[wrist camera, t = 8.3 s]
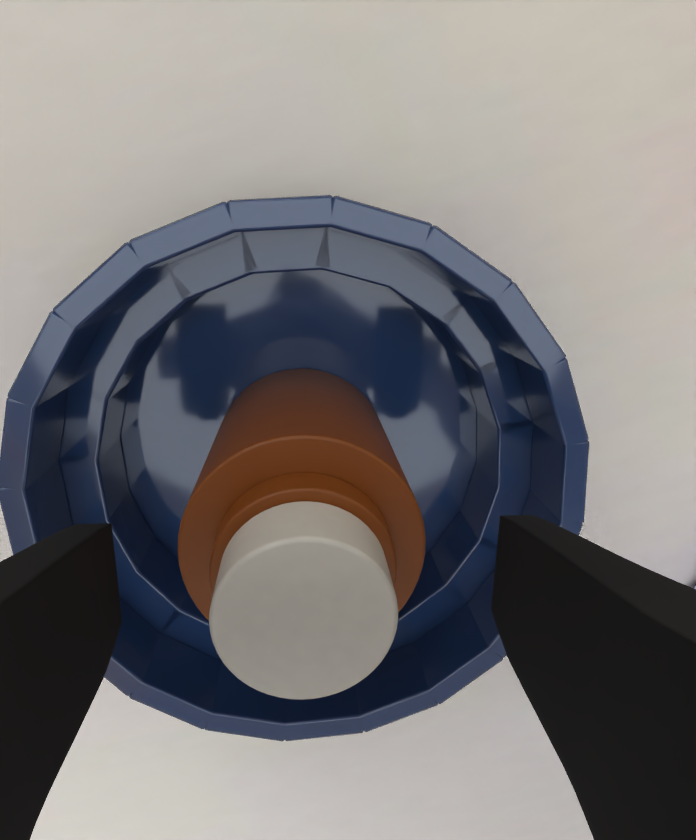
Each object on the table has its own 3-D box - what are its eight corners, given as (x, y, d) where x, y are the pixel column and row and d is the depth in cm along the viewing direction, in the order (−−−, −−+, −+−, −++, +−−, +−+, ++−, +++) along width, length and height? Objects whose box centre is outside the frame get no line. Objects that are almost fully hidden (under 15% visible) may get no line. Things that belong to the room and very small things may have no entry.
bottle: (415, 423, 17) (514, 574, 9) (327, 550, 18) (349, 784, 10) (273, 335, 16) (249, 423, 8) (187, 475, 17) (93, 672, 9)
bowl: (604, 373, 18) (702, 415, 14) (366, 690, 20) (384, 808, 16) (218, 103, 15) (185, 46, 11) (-2, 512, 18) (-100, 600, 13)
